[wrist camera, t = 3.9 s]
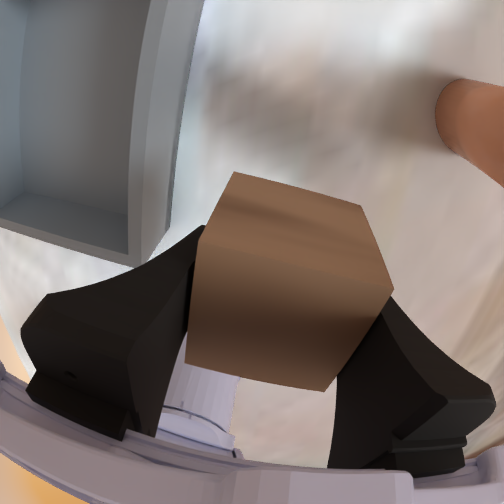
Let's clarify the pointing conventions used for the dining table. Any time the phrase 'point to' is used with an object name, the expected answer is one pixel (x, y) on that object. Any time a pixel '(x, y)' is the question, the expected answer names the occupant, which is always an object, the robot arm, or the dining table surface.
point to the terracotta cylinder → (474, 124)
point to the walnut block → (283, 285)
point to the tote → (93, 120)
